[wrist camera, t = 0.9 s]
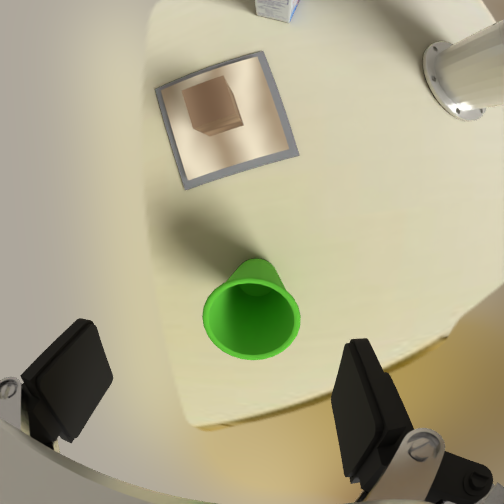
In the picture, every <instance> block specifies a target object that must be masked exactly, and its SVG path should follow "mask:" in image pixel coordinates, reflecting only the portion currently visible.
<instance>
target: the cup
mask: <svg viewBox="0 0 504 504" xmlns="http://www.w3.org/2000/svg"><path fill="white" fill-rule="evenodd" d="M202 317H203V324H204V328H205V330H206V332H207V335H208V337H209V338H210V339H211V341H212V342H213V343H214V344H215V345H216V346H217V347H218V348H219V349H221V350H222V351H223V352H225V353H227V354H229V355H231V356H234V357H237V358H240V359H247V360H260V359H266V358H269V357H273V356H275V355H277V354H279V353H281V352H282V351H284V350H285V349H286V348H287V347H288V346H289V345H290V344H291V343H292V342H293V340H294V339H295V337H296V336H297V334H298V331H299V328H300V312H299V308H298V305H297V303H296V302H295V300H294V298H293V297H292V296H291V295H290V294H289V293H288V292H287V291H286V289H285V287H284V285H283V283H282V281H281V279H280V277H279V275H278V274H277V272H276V270H275V268H274V267H273V266H272V265H271V263H269V262H267V261H266V260H263V259H257V258H255V259H250V260H247V261H245V262H244V263H242V264H241V265H240V266H239V268H238V269H237V270H236V271H235V272H234V273H233V274H232V276H231V277H230V278H229V279H228V280H227V281H226V282H225V283H223V284H222V285H220V286H219V287H217V288H216V289H215V290H214V291H213V292H212V293H211V294H210V296H209V297H208V298H207V301H206V303H205V305H204V308H203V316H202Z"/></svg>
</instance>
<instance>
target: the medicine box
mask: <svg viewBox="0 0 504 504" xmlns="http://www.w3.org/2000/svg"><path fill="white" fill-rule="evenodd" d="M298 2H299V0H255V7H256V13H257V15H258V16H262V17H267V18H271V19H276V20H280V21H283V22H287V23H289V22H290V20H291V18H292V16H293V14H294V11H295V9H296V7H297V5H298Z"/></svg>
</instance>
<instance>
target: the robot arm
mask: <svg viewBox="0 0 504 504" xmlns="http://www.w3.org/2000/svg"><path fill="white" fill-rule="evenodd" d="M423 69H424V74H425V77H426V80H427V83H428V85H429V87H430V89H431V91H432V93H433V94H434V96H435V98H436V99H437V100H438V102H439V103H440V104H441V105H442V107H443V108H444V109H445V110H446V111H447V112H449V113H450V114H451V115H452V116H454V117H456V118H458V119H460V120H463V121H475V120H478V119H480V118H481V117H482V116H483V114H484V113H485V111H486V108H488V107H494V106H501V105H504V20H502V21H499V22H497V23H495V24H493V25H491V26H489V27H487V28H485V29H483V30H481V31H479V32H477V33H475V34H473V35H471V36H469V37H467V38H465V39H463V40H461V41H459V42H457V43H456V44H454V45H453V44H451V43H448V42H444V41H438V42H435V43H433V44H431V45H430V46H429V47H428V48H427V49H426V51H425V53H424V56H423ZM21 378H22V380H23V381H24V383H23V384H21V383H20V381H19V380H18V379H17V378H15V377H6V378H4V379H2V380H0V504H216V503H208V502H203V501H197V500H191V499H186V498H181V497H176V496H172V495H168V494H164V493H160V492H156V491H152V490H149V489H145V488H142V487H139V486H136V485H132V484H129V483H126V482H124V481H120V480H118V479H115V478H112V477H110V476H107V475H105V474H102V473H100V472H98V471H95V470H93V469H90V468H88V467H86V466H84V465H82V464H79V463H77V462H75V461H73V460H71V459H69V458H67V457H65V456H63V455H61V454H60V451H59V446H58V440H57V437H58V436H60V437H61V438H62V439H63V440H65V441H67V442H70V443H72V441H73V440H74V438H77V437H78V436H79V434H80V433H81V431H82V429H83V428H84V426H85V424H86V423H87V421H88V419H89V418H90V416H91V414H92V413H93V411H94V410H95V408H96V407H97V405H98V403H99V402H100V400H101V399H102V397H103V396H104V394H105V392H106V391H107V389H108V388H109V386H110V385H111V383H112V380H113V375H112V372H111V369H110V366H109V363H108V361H107V358H106V355H105V352H104V349H103V346H102V343H101V340H100V337H99V333H98V330H97V327H96V326H95V325H94V323H93V322H92V321H91V320H86V319H77V320H76V321H75V322H74V323H73V324H72V325H71V326H70V327H69V328H68V329H67V330H66V331H65V332H63V334H62V335H60V336H59V337H58V338H57V339H56V340H55V341H54V342H53V343H52V344H51V345H50V346H49V347H48V348H47V349H46V350H45V351H44V352H43V353H42V354H41V355H40V356H39V357H38V358H37V359H36V360H35V361H34V362H33V363H32V364H31V365H30V366H29V367H28V368H27V369H26V370H25V372H24V373H23V374H22V375H21ZM331 403H332V409H333V414H334V419H335V425H336V430H337V435H338V441H339V446H340V452H341V458H342V464H343V469H344V475H345V477H350V482H351V484H352V483H358V482H360V485H361V489H363V491H362V493H361V494H360V495H359V497H358V498H357V499H356V501H355V502H354V503H346V504H504V487H503V486H502V485H500V484H499V483H497V484H495V485H494V484H493V476H492V473H491V471H490V470H489V469H488V468H487V467H486V466H484V465H482V464H479V463H476V462H473V461H470V460H467V459H465V458H462V457H459V456H456V455H454V454H451V453H449V452H446V451H445V444H444V440H443V439H442V437H441V436H440V435H439V434H438V433H437V432H436V431H433V430H431V429H427V428H418V429H415V430H414V428H413V426H412V423H411V421H410V418H409V416H408V414H407V411H406V409H405V407H404V405H403V402H402V400H401V398H400V396H399V394H398V391H397V389H396V387H395V385H394V383H393V380H392V379H391V376H390V375H389V374H388V373H387V372H385V373H384V372H383V369H382V367H381V365H380V363H379V361H378V359H377V357H376V355H375V352H374V350H373V348H372V346H371V344H370V342H369V340H368V339H367V338H364V339H351V341H350V343H346V344H345V346H344V350H343V355H342V359H341V363H340V367H339V371H338V374H337V378H336V382H335V385H334V389H333V392H332V396H331Z"/></svg>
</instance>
